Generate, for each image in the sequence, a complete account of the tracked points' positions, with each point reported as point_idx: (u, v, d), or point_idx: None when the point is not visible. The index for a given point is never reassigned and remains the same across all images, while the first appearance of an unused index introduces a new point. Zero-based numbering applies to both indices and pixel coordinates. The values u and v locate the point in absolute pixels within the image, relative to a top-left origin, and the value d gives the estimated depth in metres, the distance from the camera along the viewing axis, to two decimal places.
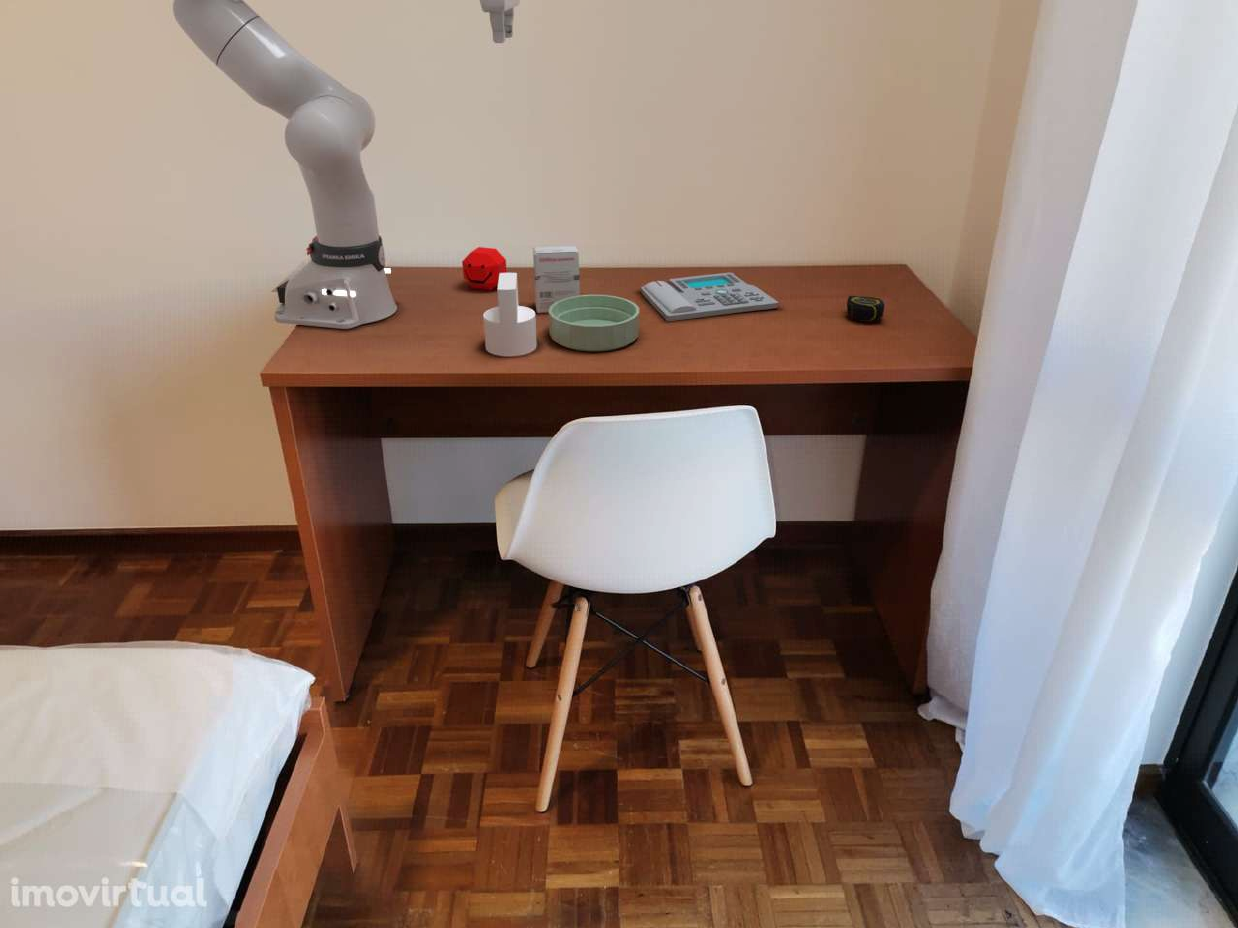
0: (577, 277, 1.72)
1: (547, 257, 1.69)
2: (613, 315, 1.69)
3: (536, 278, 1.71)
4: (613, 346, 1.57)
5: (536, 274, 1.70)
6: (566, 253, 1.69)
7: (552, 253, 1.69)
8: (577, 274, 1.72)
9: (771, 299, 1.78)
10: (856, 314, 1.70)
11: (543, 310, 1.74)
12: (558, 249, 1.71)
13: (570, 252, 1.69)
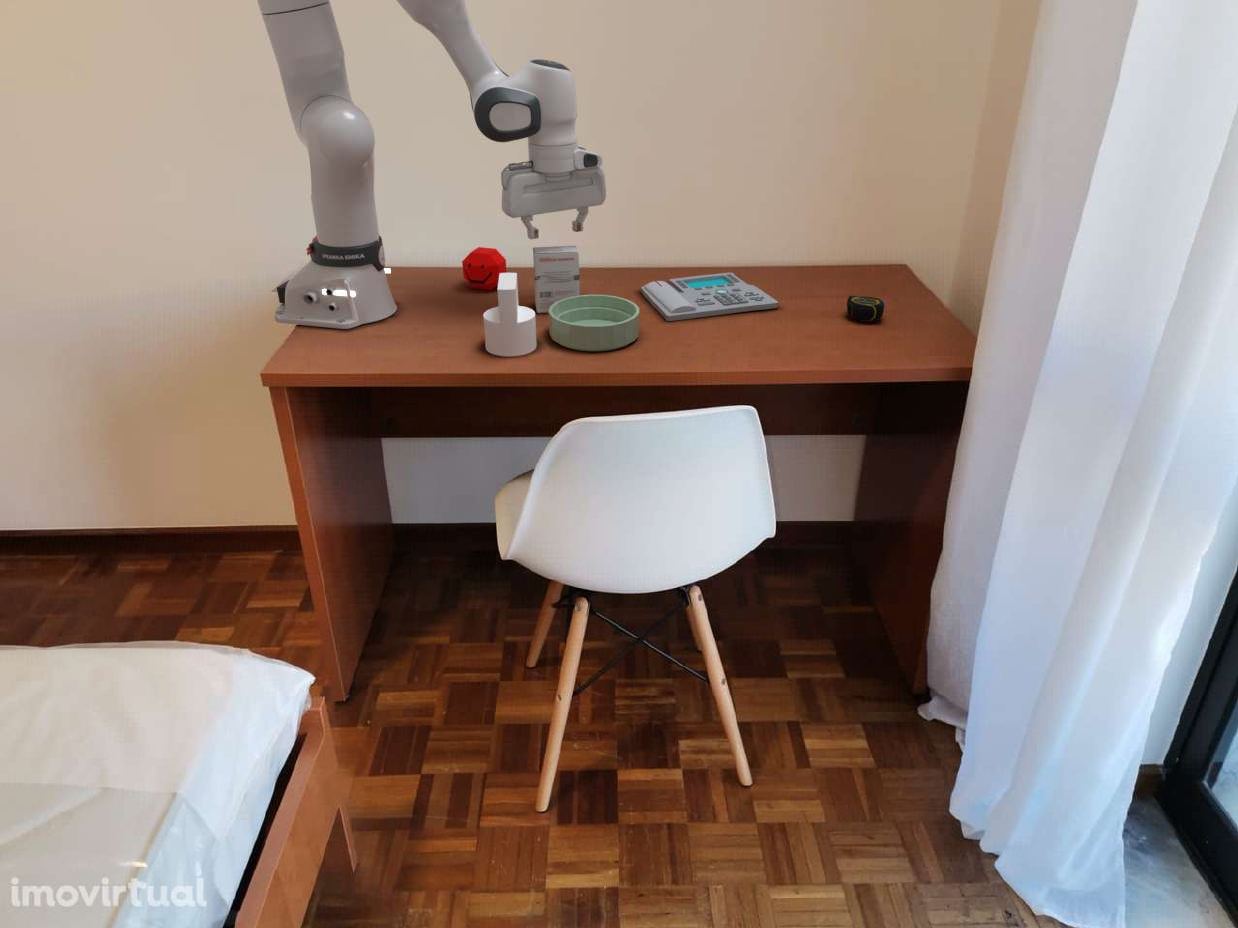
0: (577, 277, 1.72)
1: (547, 257, 1.69)
2: (613, 315, 1.69)
3: (536, 278, 1.71)
4: (613, 346, 1.57)
5: (536, 274, 1.70)
6: (566, 253, 1.69)
7: (552, 253, 1.69)
8: (577, 274, 1.72)
9: (771, 299, 1.78)
10: (856, 314, 1.70)
11: (543, 310, 1.74)
12: (558, 249, 1.71)
13: (570, 252, 1.69)
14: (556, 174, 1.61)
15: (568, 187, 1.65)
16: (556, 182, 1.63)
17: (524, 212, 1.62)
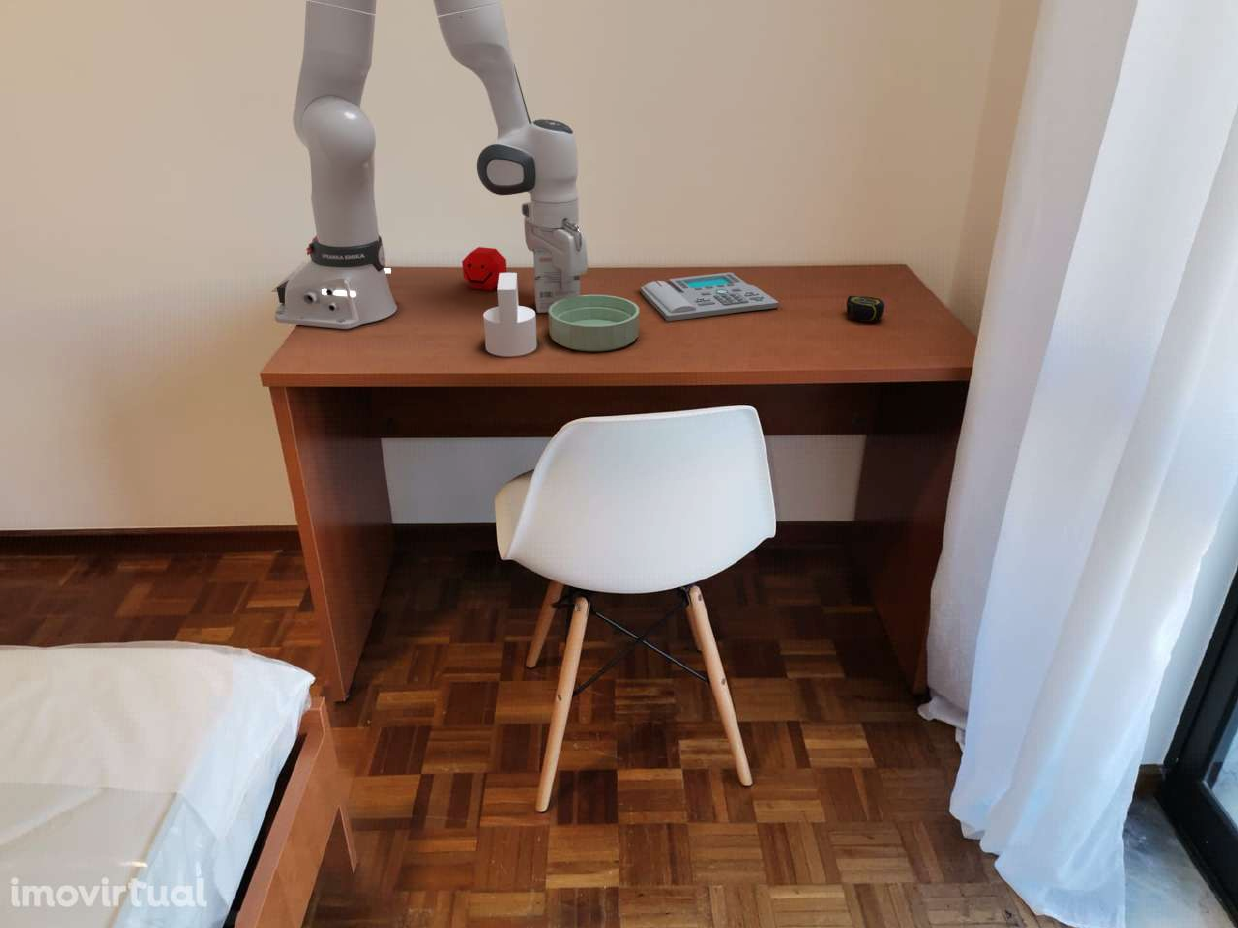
0: (577, 277, 1.72)
1: (548, 257, 1.69)
2: (613, 315, 1.69)
3: (536, 278, 1.71)
4: (613, 346, 1.57)
5: (536, 274, 1.70)
6: None
7: None
8: None
9: (771, 299, 1.78)
10: (856, 314, 1.70)
11: (543, 310, 1.74)
12: None
13: None
14: None
15: None
16: None
17: None
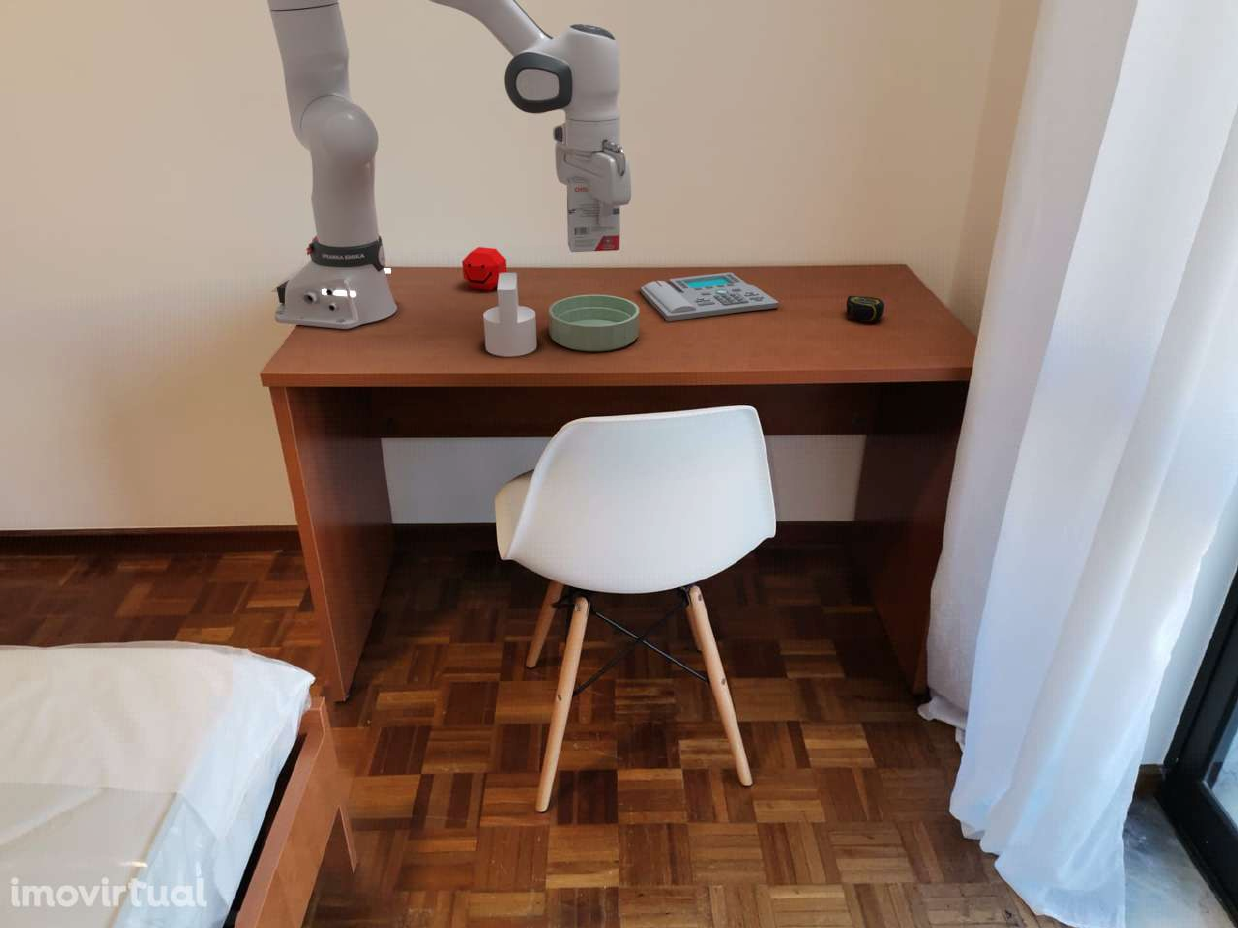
0: (617, 210, 1.51)
1: (584, 187, 1.48)
2: (613, 315, 1.69)
3: (570, 211, 1.50)
4: (613, 346, 1.57)
5: (571, 207, 1.50)
6: None
7: None
8: (617, 207, 1.51)
9: (771, 299, 1.78)
10: (855, 314, 1.70)
11: (578, 249, 1.53)
12: None
13: None
14: None
15: None
16: None
17: None
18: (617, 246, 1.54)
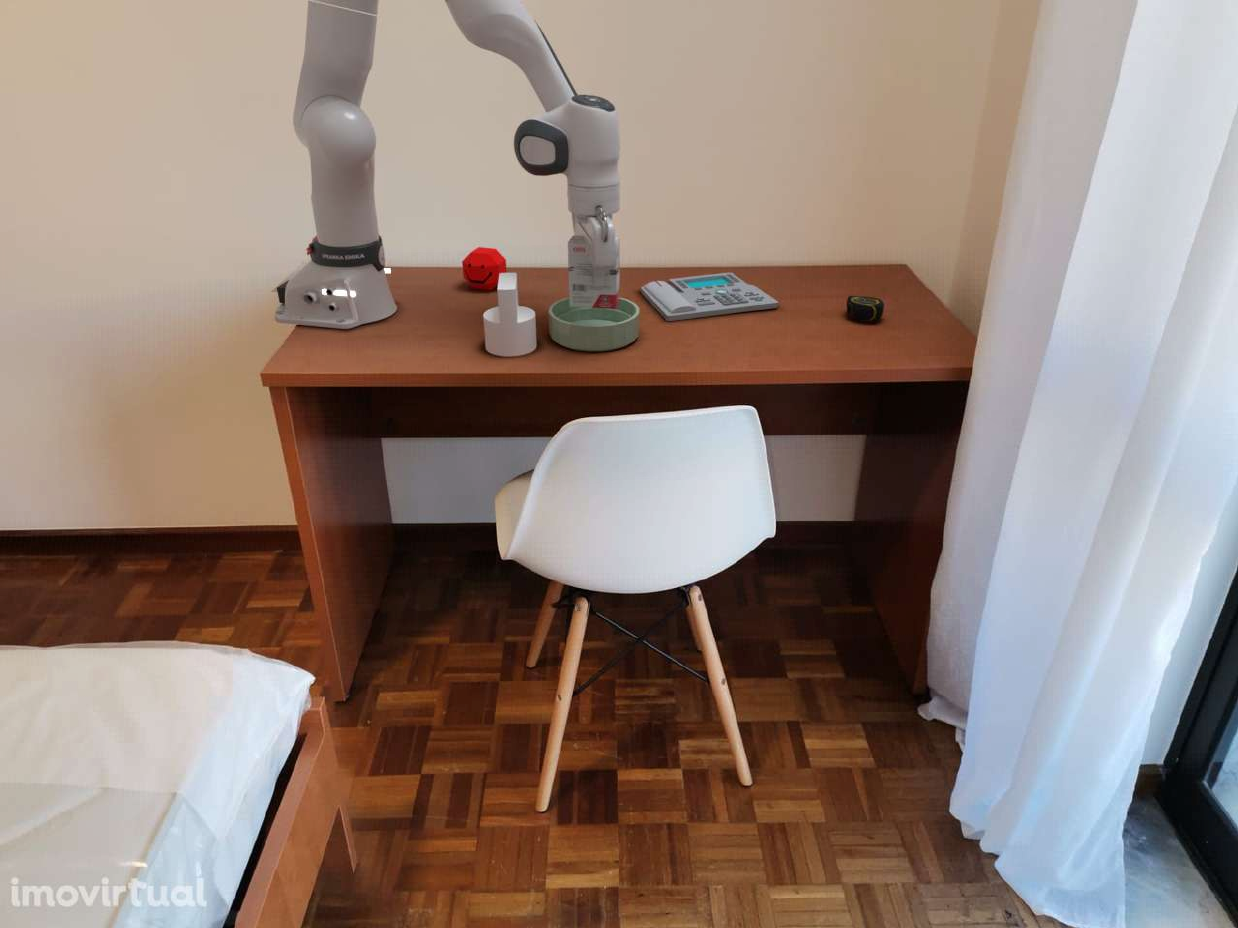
0: (614, 271, 1.56)
1: (582, 247, 1.54)
2: (613, 315, 1.69)
3: (569, 269, 1.57)
4: (613, 346, 1.57)
5: (569, 264, 1.56)
6: None
7: None
8: (614, 268, 1.55)
9: (771, 299, 1.78)
10: (855, 314, 1.70)
11: (576, 304, 1.60)
12: None
13: None
14: None
15: None
16: None
17: None
18: (614, 305, 1.59)
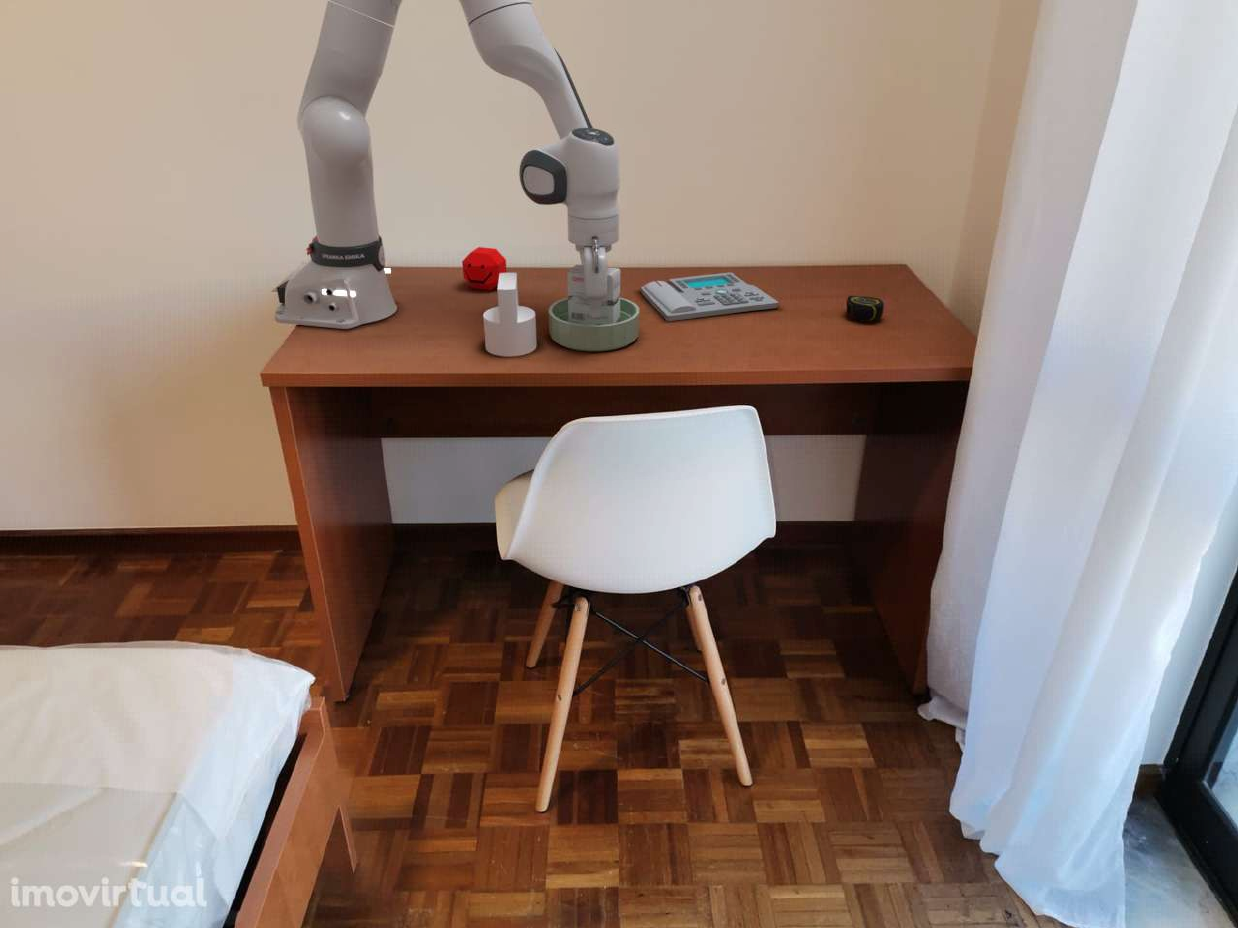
0: (611, 302, 1.58)
1: (580, 277, 1.57)
2: None
3: (568, 297, 1.60)
4: (613, 346, 1.57)
5: (569, 293, 1.59)
6: None
7: None
8: (611, 299, 1.58)
9: (771, 299, 1.78)
10: (855, 314, 1.70)
11: None
12: None
13: None
14: (610, 243, 1.55)
15: None
16: None
17: None
18: None
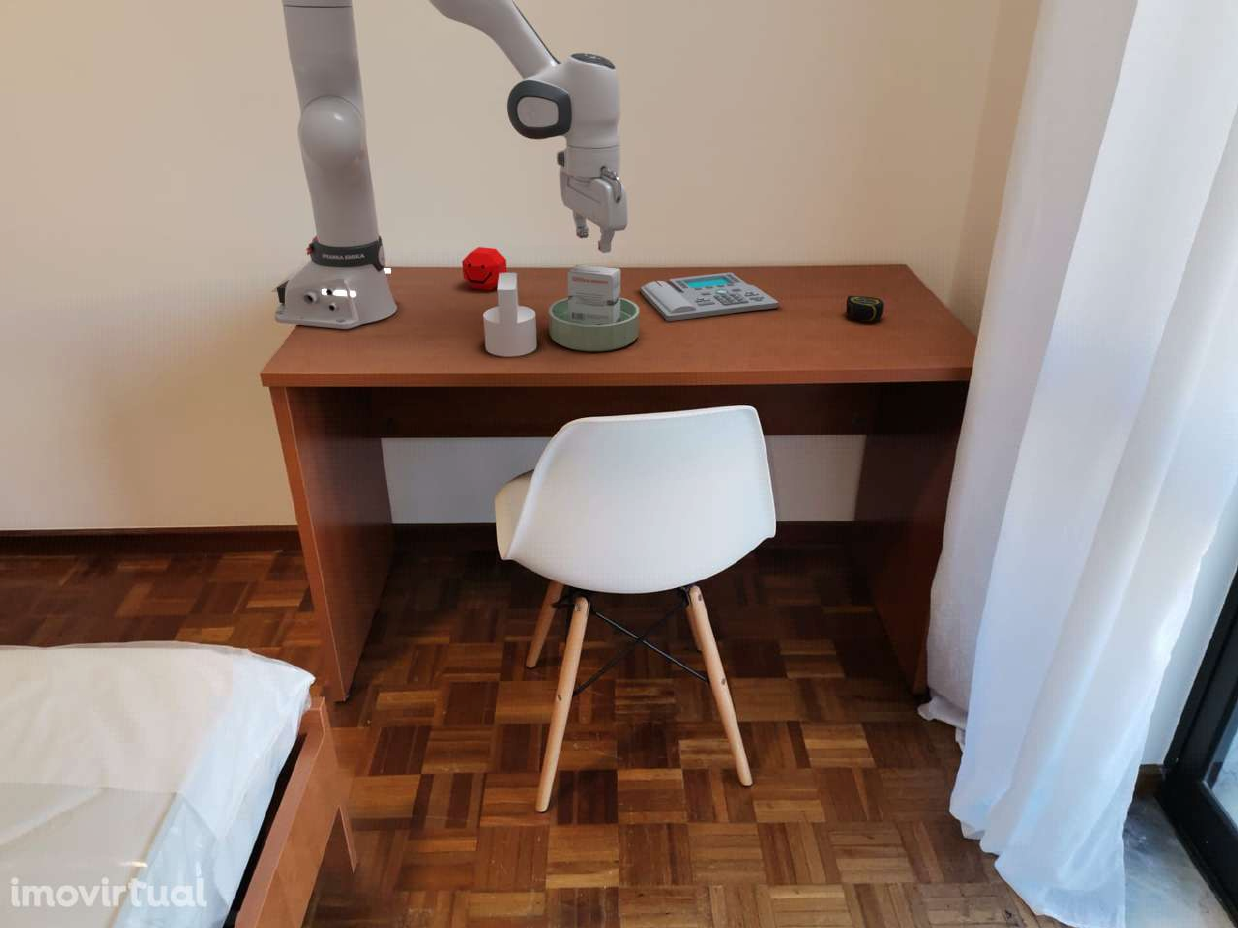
0: (611, 302, 1.58)
1: (580, 277, 1.57)
2: None
3: (568, 297, 1.60)
4: (613, 346, 1.57)
5: (569, 293, 1.59)
6: (600, 275, 1.56)
7: (585, 273, 1.57)
8: (611, 299, 1.58)
9: (771, 299, 1.78)
10: (855, 314, 1.70)
11: None
12: (597, 269, 1.58)
13: (604, 275, 1.56)
14: None
15: None
16: None
17: None
18: None
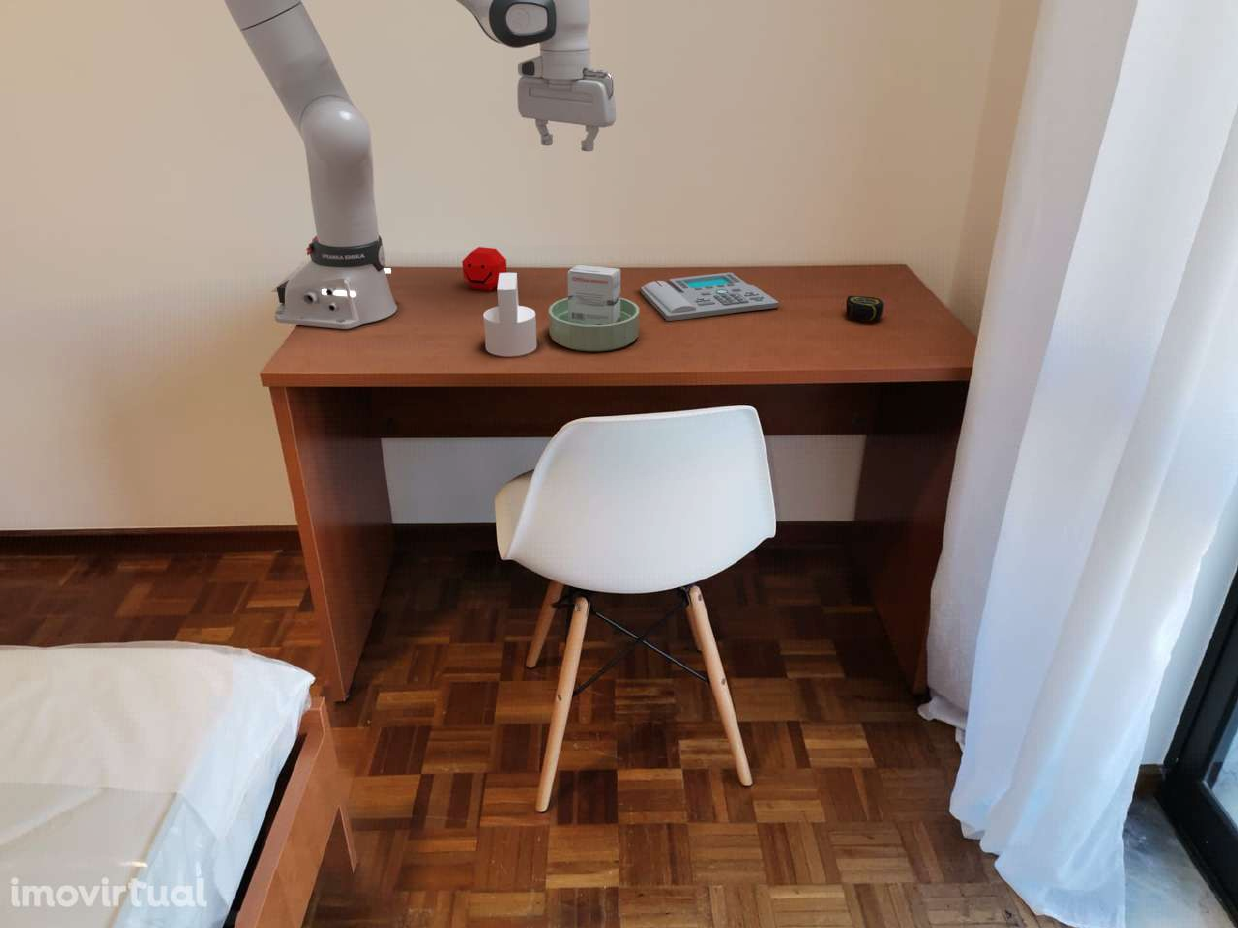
0: (611, 302, 1.58)
1: (580, 277, 1.57)
2: None
3: (568, 297, 1.60)
4: (613, 346, 1.57)
5: (569, 293, 1.59)
6: (600, 275, 1.56)
7: (585, 273, 1.57)
8: (611, 299, 1.58)
9: (771, 299, 1.78)
10: (855, 314, 1.70)
11: None
12: (597, 269, 1.58)
13: (604, 275, 1.56)
14: None
15: None
16: None
17: None
18: None
